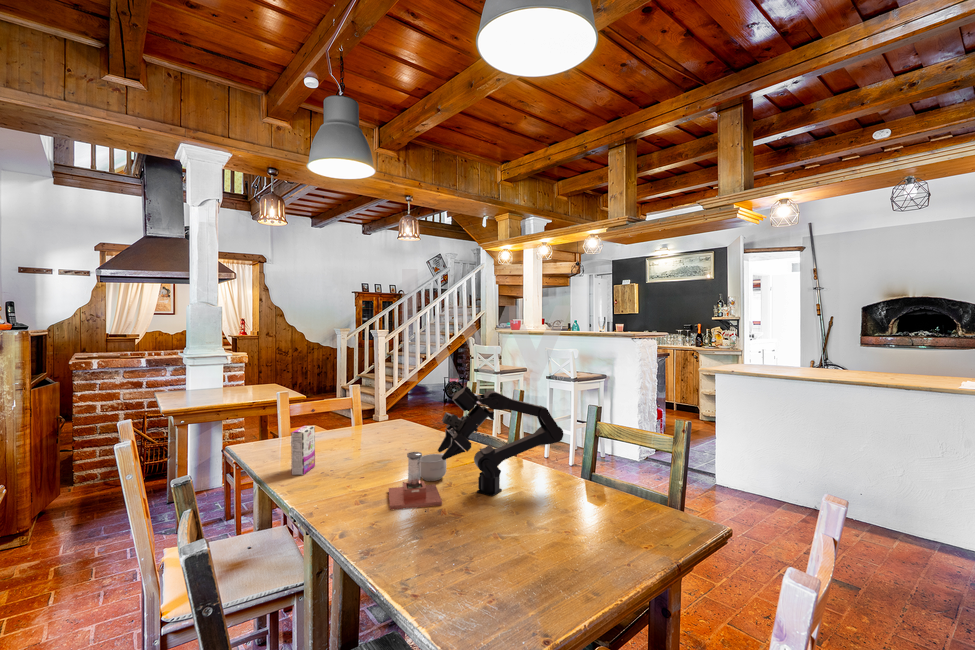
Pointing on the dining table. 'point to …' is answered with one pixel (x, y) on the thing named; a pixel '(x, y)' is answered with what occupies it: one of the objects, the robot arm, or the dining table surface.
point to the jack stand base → (414, 496)
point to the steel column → (414, 469)
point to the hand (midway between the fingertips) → (440, 455)
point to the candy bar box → (303, 450)
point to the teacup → (433, 467)
